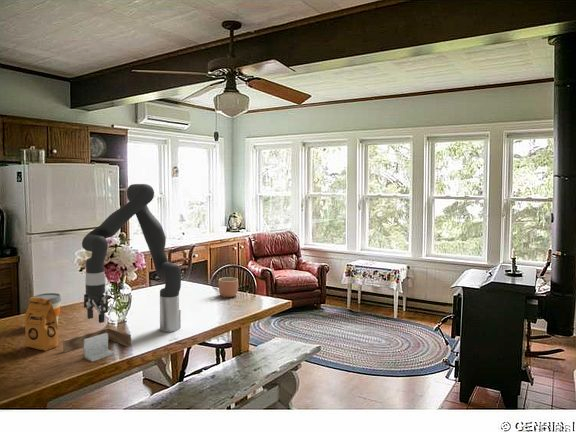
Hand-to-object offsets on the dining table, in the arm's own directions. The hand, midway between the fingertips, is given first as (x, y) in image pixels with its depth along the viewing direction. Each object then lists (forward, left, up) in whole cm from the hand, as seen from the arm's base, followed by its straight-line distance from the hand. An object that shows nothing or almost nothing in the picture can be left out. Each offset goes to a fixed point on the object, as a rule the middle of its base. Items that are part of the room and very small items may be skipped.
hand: (95, 320), depth 187 cm
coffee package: (+10, -26, -15) cm, 32 cm away
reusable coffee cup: (-5, -53, -15) cm, 55 cm away
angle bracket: (0, +2, -15) cm, 15 cm away
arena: (-4, -6, -15) cm, 16 cm away
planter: (-104, -23, -15) cm, 108 cm away
